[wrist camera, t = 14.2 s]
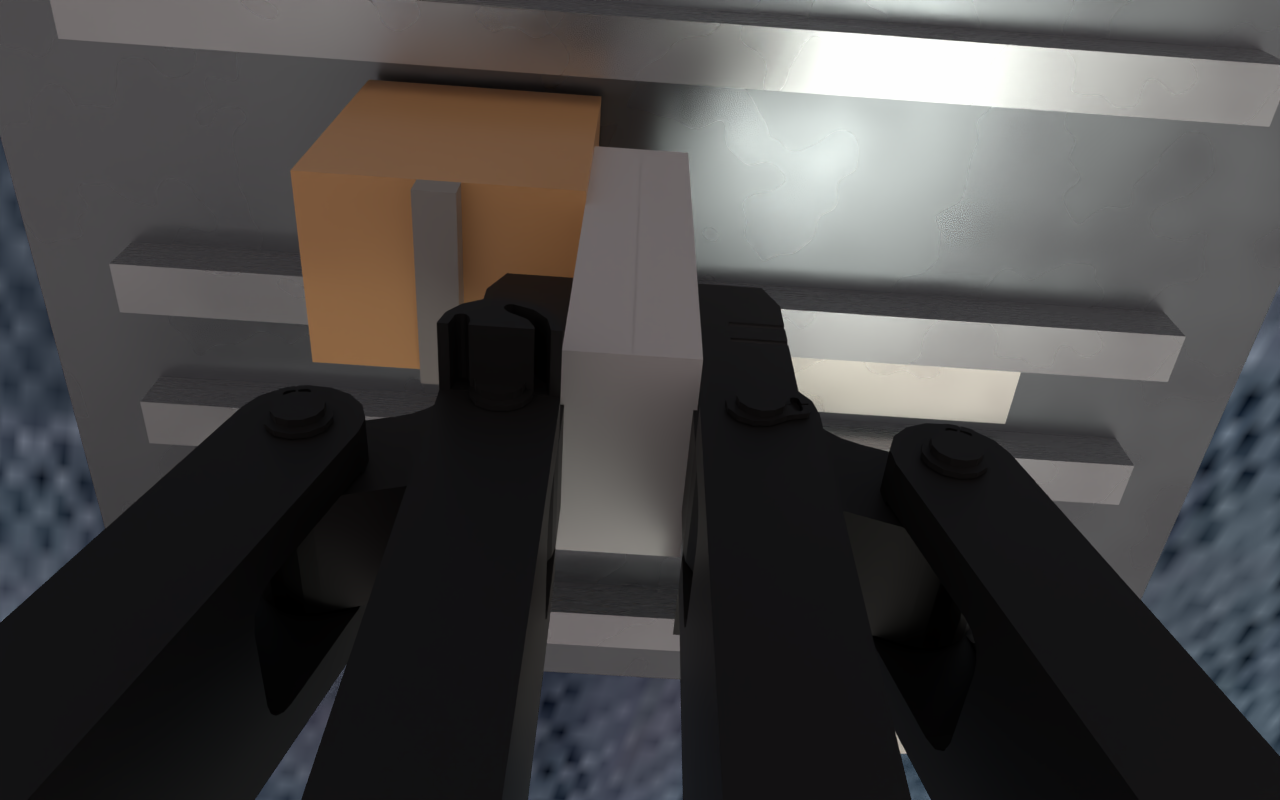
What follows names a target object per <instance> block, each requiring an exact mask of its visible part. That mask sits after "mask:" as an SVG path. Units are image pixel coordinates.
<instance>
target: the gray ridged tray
mask: <svg viewBox="0 0 1280 800" xmlns="http://www.w3.org/2000/svg"><path fill="white" fill-rule="evenodd" d="M368 80H381V81H395V82H409V83H423V84H437V85H451V86H464V87H478V88H492V89H506V90H520V91H534V92H547V93H561V94H575V95H589V96H601V115H600V136H599V146H600V147H613V148H627V149H641V150H655V151H669V152H683V153H688V159H689V173H690V186H691V200H692V214H693V227H694V241H695V255H696V269H697V282H698V284H712V285H726V286H741V287H755V288H762V289H763V290H764V291H765V292H766V293H767V294H768V295H769V296H770V297H771V298H772V299H773V300H774V301H775V302H776V303H777V304H778V305H779V306H780V308H781V313H782V317H783V322H784V329H785V331H786V336H787V340H788V343H787V345H789V350H790V354H791V359H792V363H793V368H794V373H795V377H796V382H797V387H798V391H799V392H800V393H802V394H803V395H804V396H806V397H807V398H809V399H810V400H811V401H812V402H813V403H814V405H815V407H816V408H817V410H818V412H819V414H820V417H821V421H822V426H823V429H825V430H826V431H828V432H830V433H832V434H834V435H836V436H838V437H840V438H843V439H846V440H849V441H852V442H855V443H858V444H861V445H865V446H869V447H873V448H877V449H881V450H884V451H888V452H889V450H890V447H891V444H892V440H893V437H894V436H895V435H896V434H898V433H899V432H900V431H902V430H903V429H905V428H906V427H910V426H915V425H920V424H924V423H933V424H952V425H958V427H961V426H962V427H965V428H969V429H972V430H974V431H976V432H978V433H980V434H982V435H984V436H986V437H988V438H990V439H993V440H995V441H996V442H997V443H998V444H999V445H1001V446H1002V447H1003V448H1004V449H1006V450H1007V451H1008V452H1009V453H1011V455H1012V456H1013V457H1014V458H1015V459H1016V460H1017V461H1018V462H1019V464H1020V465H1021V466H1022V467H1023V468H1024V469H1025V470H1026V471H1027V473H1028V474H1029V475H1030V476H1031V477H1032V478H1033V479H1034V480H1035V482H1036V483H1037V484H1038V485H1039V486H1040V487H1041V488H1042V489H1043V491H1044V492H1045V493H1046V494H1047V495H1048V496H1049V497H1050V498H1051V500H1052V501H1053V502H1054V503H1055V504H1056V505H1057V506H1058V507H1059V509H1060V510H1061V511H1062V512H1063V513H1064V514H1065V515H1066V516H1067V518H1068V519H1069V520H1070V521H1071V522H1072V523H1073V524H1074V525H1075V527H1076V528H1077V529H1078V530H1079V531H1080V532H1081V533H1082V534H1083V536H1084V537H1085V538H1086V539H1087V540H1088V541H1089V542H1090V543H1091V545H1092V546H1093V547H1094V548H1095V549H1096V550H1097V551H1098V552H1099V554H1100V555H1101V556H1102V557H1103V558H1104V559H1105V560H1106V561H1107V563H1108V564H1109V565H1110V566H1111V567H1112V568H1113V569H1114V570H1115V572H1116V573H1117V574H1118V575H1119V576H1120V577H1121V578H1122V579H1123V581H1124V582H1125V583H1126V584H1127V585H1128V586H1129V587H1130V588H1131V590H1132V591H1133V592H1134V593H1135V594H1136V595H1137V596H1138V597H1139V599H1140V600H1141V598H1142V596H1143V593H1144V591H1145V589H1146V587H1147V584H1148V582H1149V580H1150V578H1151V575H1152V573H1153V571H1154V568H1155V566H1156V564H1157V562H1158V559H1159V557H1160V555H1161V553H1162V550H1163V548H1164V546H1165V543H1166V541H1167V539H1168V537H1169V534H1170V532H1171V530H1172V528H1173V525H1174V523H1175V521H1176V518H1177V516H1178V514H1179V512H1180V509H1181V507H1182V505H1183V503H1184V500H1185V498H1186V496H1187V493H1188V491H1189V489H1190V487H1191V484H1192V482H1193V480H1194V478H1195V475H1196V473H1197V471H1198V468H1199V466H1200V464H1201V462H1202V459H1203V457H1204V455H1205V453H1206V450H1207V448H1208V446H1209V443H1210V441H1211V439H1212V437H1213V434H1214V432H1215V430H1216V428H1217V425H1218V423H1219V421H1220V418H1221V416H1222V414H1223V412H1224V409H1225V407H1226V405H1227V402H1228V400H1229V398H1230V396H1231V393H1232V391H1233V389H1234V387H1235V384H1236V382H1237V380H1238V377H1239V375H1240V373H1241V371H1242V368H1243V366H1244V364H1245V362H1246V359H1247V357H1248V355H1249V352H1250V350H1251V348H1252V346H1253V343H1254V341H1255V339H1256V337H1257V334H1258V332H1259V330H1260V327H1261V325H1262V323H1263V321H1264V318H1265V316H1266V314H1267V312H1268V309H1269V307H1270V305H1271V302H1272V300H1273V298H1274V296H1275V293H1276V291H1277V289H1278V287H1279V284H1280V0H0V137H1V140H2V144H3V148H4V152H5V155H6V159H7V163H8V167H9V170H10V174H11V178H12V182H13V185H14V189H15V193H16V197H17V200H18V204H19V208H20V211H21V215H22V219H23V223H24V226H25V230H26V234H27V238H28V241H29V245H30V249H31V253H32V256H33V260H34V264H35V268H36V271H37V275H38V279H39V283H40V286H41V290H42V294H43V298H44V301H45V305H46V309H47V313H48V316H49V320H50V324H51V328H52V331H53V335H54V339H55V343H56V346H57V350H58V354H59V357H60V361H61V365H62V369H63V372H64V376H65V380H66V384H67V387H68V391H69V395H70V399H71V402H72V406H73V410H74V414H75V417H76V421H77V425H78V429H79V432H80V436H81V440H82V444H83V447H84V451H85V455H86V459H87V462H88V466H89V470H90V474H91V477H92V481H93V485H94V489H95V492H96V496H97V500H98V503H99V507H100V511H101V515H102V518H103V522H104V526H105V529H106V528H107V527H108V526H109V525H110V524H111V523H112V522H113V521H115V520H116V519H117V518H118V517H119V516H120V515H121V514H122V513H123V512H125V511H126V510H127V509H128V508H129V507H130V506H131V505H132V504H134V503H135V502H136V501H137V500H138V499H139V498H140V497H141V496H142V495H144V494H145V493H146V492H147V491H148V490H149V489H150V488H151V487H152V486H154V485H155V484H156V483H157V482H158V481H159V480H160V479H161V478H163V477H164V476H165V475H166V474H167V473H168V472H169V471H170V470H171V469H173V468H174V467H175V466H176V465H177V464H178V463H179V462H180V461H182V460H183V459H184V458H185V457H186V456H187V455H188V454H189V453H190V452H192V451H193V450H194V449H195V448H196V447H197V446H198V445H199V444H201V443H202V442H203V441H204V440H205V439H206V438H207V437H208V436H209V435H211V434H212V433H213V432H214V431H215V430H216V429H217V428H218V427H219V426H221V425H222V424H223V423H224V422H225V421H226V420H227V419H228V418H230V417H231V416H232V415H233V414H234V413H235V412H236V411H237V410H238V409H240V408H241V407H242V406H244V405H245V404H247V403H248V402H250V401H251V400H253V399H255V398H256V397H258V396H260V395H263V394H266V393H269V392H272V391H275V390H278V389H281V388H284V387H291V386H295V387H297V386H298V385H312V386H321V387H331V388H334V389H337V390H340V391H343V392H346V393H348V394H351V395H352V396H353V397H354V398H355V399H356V400H358V401H359V402H360V403H361V404H362V405H363V410H364V414H365V420H372V419H380V418H389V417H396V416H401V415H406V414H411V413H415V412H418V411H421V410H423V409H426V408H429V407H431V406H433V405H434V404H435V401H436V398H437V395H438V392H439V384H424V383H421V378H420V369H411V368H396V367H380V366H365V365H350V364H335V363H320V362H313V360H312V352H311V343H310V335H309V326H308V318H307V309H306V300H305V292H304V283H303V275H302V266H301V258H300V249H299V241H298V232H297V223H296V215H295V206H294V198H293V189H292V181H291V172H290V170H291V169H292V168H293V167H294V166H295V165H296V163H297V162H298V161H299V160H300V159H301V158H302V156H303V155H304V154H305V153H306V152H307V151H308V149H309V148H310V147H311V146H312V145H313V144H314V143H315V141H316V140H317V139H318V138H319V137H320V136H321V134H322V133H323V132H324V131H325V130H326V129H327V127H328V126H329V125H330V124H331V123H332V122H333V121H334V119H335V118H336V117H337V116H338V115H339V114H340V112H341V111H342V110H343V109H344V108H345V107H346V105H347V104H348V103H349V102H350V101H351V100H352V99H353V97H354V96H355V95H356V94H357V93H358V92H359V90H360V89H361V88H362V87H363V86H364V85H365V84H366V82H367V81H368ZM682 553H683V544H682V545H681V554H680V557H669V556H653V555H637V554H621V553H605V552H589V551H573V550H557V549H556V551H555V580H554V588H553V596H552V605H551V613H550V621H549V629H548V638H547V646H546V654H545V662H544V671H548V672H565V673H582V674H599V675H616V676H633V677H650V678H667V679H680V635H673V629H674V620H675V612H676V603H677V595H678V586H679V578H680V570H681V561H682Z"/></svg>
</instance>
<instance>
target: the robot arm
mask: <svg viewBox="0 0 1280 800" xmlns="http://www.w3.org/2000/svg"><path fill="white" fill-rule="evenodd" d="M787 343H788V340H787V336H786V331H785V329H784V322H783V317H782V313H781V308H780V306H779V305H778V304H777V303H776V302H775V301H774V300H773V299H772V298H771V297H770V296H769V295H768V294H767V293H766V292H765V291H764V290H763V289H762V288H755V287H741V286H726V285H712V284H698V282H697V269H696V255H695V241H694V227H693V214H692V200H691V186H690V173H689V159H688V153H683V152H669V151H655V150H641V149H627V148H613V147H600V146H595V148H594V154H593V160H592V167H591V173H590V179H589V186H588V192H587V198H586V204H585V209H584V215H583V222H582V228H581V234H580V240H579V247H578V253H577V259H576V265H575V272H574V278H570V277H556V276H541V275H527V274H512V273H507V274H505V275H504V276H503V277H501V278H500V279H499V280H497V281H496V282H495V283H493V284H492V285H491V286H490V287H488V288H487V289H486V292H485V295H484V299H481V300H476V301H472V302H467V303H462V304H460V305H458V306H456V307H454V308H452V309H450V310H448V311H446V312H445V313H444V314H443V315H442V317H441V318H440V319H439V320H438V321H437V347H438V371H439V392H438V395H437V398H436V401H435V404H434V405H433V406H431V407H429V408H426V409H423V410H421V411H418V412H415V413H411V414H406V415H401V416H396V417H389V418H380V419H372V420H365V414H364V410H363V405H362V404H361V403H360V402H359V401H358V400H356V399H355V398H354V397H353V396H352V395H351V394H348V393H346V392H343V391H340V390H337V389H334V388H331V387H321V386H312V385H298V386H297V387H295V386H291V387H284V388H281V389H278V390H275V391H272V392H269V393H266V394H263V395H260V396H258V397H256V398H255V399H253V400H251V401H250V402H248V403H247V404H245V405H244V406H242V407H241V408H240V409H238V410H237V411H236V412H235V413H234V414H233V415H232V416H231V417H230V418H228V419H227V420H226V421H225V422H224V423H223V424H222V425H221V426H219V427H218V428H217V429H216V430H215V431H214V432H213V433H212V434H211V435H209V436H208V437H207V438H206V439H205V440H204V441H203V442H202V443H201V444H199V445H198V446H197V447H196V448H195V449H194V450H193V451H192V452H190V453H189V454H188V455H187V456H186V457H185V458H184V459H183V460H182V461H180V462H179V463H178V464H177V465H176V466H175V467H174V468H173V469H171V470H170V471H169V472H168V473H167V474H166V475H165V476H164V477H163V478H161V479H160V480H159V481H158V482H157V483H156V484H155V485H154V486H152V487H151V488H150V489H149V490H148V491H147V492H146V493H145V494H144V495H142V496H141V497H140V498H139V499H138V500H137V501H136V502H135V503H134V504H132V505H131V506H130V507H129V508H128V509H127V510H126V511H125V512H123V513H122V514H121V515H120V516H119V517H118V518H117V519H116V520H115V521H113V522H112V523H111V524H110V525H109V526H108V527H107V528H106V529H104V530H103V531H102V532H101V533H100V534H99V535H98V536H97V537H96V538H94V539H93V540H92V541H91V542H90V543H89V544H88V545H87V546H85V547H84V548H83V549H82V550H81V551H80V552H79V553H78V554H77V555H75V556H74V557H73V558H72V559H71V560H70V561H69V562H68V563H66V564H65V565H64V566H63V567H62V568H61V569H60V570H59V571H58V572H56V573H55V574H54V575H53V576H52V577H51V578H50V579H49V580H48V581H46V582H45V583H44V584H43V585H42V586H41V587H40V588H39V589H37V590H36V591H35V592H34V593H33V594H32V595H31V596H30V597H29V598H27V599H26V600H25V601H24V602H23V603H22V604H21V605H20V606H18V607H17V608H16V609H15V610H14V611H13V612H12V613H11V614H10V615H8V616H7V617H6V618H5V619H4V620H3V621H2V622H1V623H0V800H255V798H256V797H257V795H258V794H259V792H260V791H261V790H262V788H263V787H264V785H265V784H266V782H267V781H268V779H269V778H270V776H271V775H272V773H273V772H274V770H275V769H276V767H277V766H278V764H279V763H280V762H281V760H282V759H283V757H284V756H285V754H286V753H287V751H288V750H289V748H290V747H291V745H292V744H293V742H294V741H295V739H296V738H297V736H298V735H299V733H300V732H301V731H302V729H303V728H304V726H305V725H306V723H307V722H308V720H309V719H310V717H311V716H312V714H313V713H314V711H315V710H316V708H317V707H318V705H319V704H320V703H321V701H322V700H323V698H324V697H325V695H326V694H327V692H328V691H329V689H330V688H331V686H332V685H333V683H334V682H335V680H336V679H337V677H338V676H339V674H340V673H341V672H342V670H343V669H344V667H345V666H346V664H347V666H346V668H345V671H344V674H343V677H342V680H341V683H340V686H339V689H338V692H337V695H336V698H335V701H334V704H333V707H332V710H331V713H330V716H329V719H328V722H327V725H326V728H325V731H324V734H323V737H322V740H321V743H320V746H319V749H318V752H317V755H316V758H315V761H314V764H313V767H312V770H311V773H310V776H309V779H308V782H307V784H306V787H305V790H304V793H303V796H302V799H301V800H528V794H529V786H530V778H531V769H532V761H533V753H534V745H535V736H536V728H537V720H538V712H539V704H540V695H541V687H542V679H543V671H544V662H545V654H546V646H547V638H548V629H549V621H550V613H551V605H552V596H553V588H554V580H555V551H556V549H557V550H573V551H589V552H605V553H621V554H637V555H653V556H669V557H680V554H681V545H682V544H683V553H682V561H681V570H680V578H679V586H678V595H677V603H676V612H675V620H674V629H673V635H680V682H681V730H682V779H683V800H911V796H910V792H909V788H908V784H907V780H906V775H905V771H904V767H903V763H902V758H901V754H900V750H899V746H898V742H897V737H896V734H897V736H898V738H899V740H900V742H901V744H902V746H903V748H904V749H905V751H906V753H907V755H908V757H909V759H910V761H911V763H912V765H913V766H914V768H915V770H916V772H917V774H918V776H919V778H920V780H921V782H922V783H923V785H924V787H925V789H926V791H927V793H928V795H929V797H930V799H931V800H1280V756H1279V755H1278V754H1277V753H1276V752H1275V750H1274V749H1273V748H1272V747H1271V746H1270V745H1269V744H1268V743H1267V741H1266V740H1265V739H1264V738H1263V737H1262V736H1261V735H1260V734H1259V732H1258V731H1257V730H1256V729H1255V728H1254V727H1253V726H1252V725H1251V723H1250V722H1249V721H1248V720H1247V719H1246V718H1245V717H1244V716H1243V714H1242V713H1241V712H1240V711H1239V710H1238V709H1237V708H1236V707H1235V705H1234V704H1233V703H1232V702H1231V701H1230V700H1229V699H1228V698H1227V696H1226V695H1225V694H1224V693H1223V692H1222V691H1221V690H1220V689H1219V687H1218V686H1217V685H1216V684H1215V683H1214V682H1213V681H1212V680H1211V678H1210V677H1209V676H1208V675H1207V674H1206V673H1205V672H1204V671H1203V669H1202V668H1201V667H1200V666H1199V665H1198V664H1197V663H1196V662H1195V660H1194V659H1193V658H1192V657H1191V656H1190V655H1189V654H1188V653H1187V651H1186V650H1185V649H1184V648H1183V647H1182V646H1181V645H1180V644H1179V642H1178V641H1177V640H1176V639H1175V638H1174V637H1173V636H1172V635H1171V633H1170V632H1169V631H1168V630H1167V629H1166V628H1165V627H1164V626H1163V624H1162V623H1161V622H1160V621H1159V620H1158V619H1157V618H1156V617H1155V615H1154V614H1153V613H1152V612H1151V611H1150V610H1149V609H1148V608H1147V606H1146V605H1145V604H1144V603H1143V602H1142V601H1141V600H1140V599H1139V597H1138V596H1137V595H1136V594H1135V593H1134V592H1133V591H1132V590H1131V588H1130V587H1129V586H1128V585H1127V584H1126V583H1125V582H1124V581H1123V579H1122V578H1121V577H1120V576H1119V575H1118V574H1117V573H1116V572H1115V570H1114V569H1113V568H1112V567H1111V566H1110V565H1109V564H1108V563H1107V561H1106V560H1105V559H1104V558H1103V557H1102V556H1101V555H1100V554H1099V552H1098V551H1097V550H1096V549H1095V548H1094V547H1093V546H1092V545H1091V543H1090V542H1089V541H1088V540H1087V539H1086V538H1085V537H1084V536H1083V534H1082V533H1081V532H1080V531H1079V530H1078V529H1077V528H1076V527H1075V525H1074V524H1073V523H1072V522H1071V521H1070V520H1069V519H1068V518H1067V516H1066V515H1065V514H1064V513H1063V512H1062V511H1061V510H1060V509H1059V507H1058V506H1057V505H1056V504H1055V503H1054V502H1053V501H1052V500H1051V498H1050V497H1049V496H1048V495H1047V494H1046V493H1045V492H1044V491H1043V489H1042V488H1041V487H1040V486H1039V485H1038V484H1037V483H1036V482H1035V480H1034V479H1033V478H1032V477H1031V476H1030V475H1029V474H1028V473H1027V471H1026V470H1025V469H1024V468H1023V467H1022V466H1021V465H1020V464H1019V462H1018V461H1017V460H1016V459H1015V458H1014V457H1013V456H1012V455H1011V453H1009V452H1008V451H1007V450H1006V449H1004V448H1003V447H1002V446H1001V445H999V444H998V443H997V442H996V441H995V440H993V439H990V438H988V437H986V436H984V435H982V434H980V433H978V432H976V431H974V430H972V429H969V428H965V427H962V426H961V427H958V425H952V424H933V423H924V424H920V425H915V426H910V427H906V428H905V429H903V430H902V431H900V432H899V433H898V434H896V435H895V436H894V437H893V440H892V444H891V447H890V450H889V452H888V451H884V450H881V449H877V448H873V447H869V446H865V445H861V444H858V443H855V442H852V441H849V440H846V439H843V438H840V437H838V436H836V435H834V434H832V433H830V432H828V431H826V430H825V429H823V426H822V421H821V417H820V414H819V412H818V410H817V408H816V407H815V405H814V403H813V402H812V401H811V400H810V399H809V398H807V397H806V396H804V395H803V394H802V393H800V392H799V391H798V387H797V382H796V377H795V373H794V368H793V363H792V359H791V354H790V350H789V345H787ZM895 732H896V733H895Z"/></svg>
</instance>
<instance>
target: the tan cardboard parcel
mask: <svg viewBox="0 0 1280 800" xmlns="http://www.w3.org/2000/svg"><path fill="white" fill-rule="evenodd" d="M600 115H601V96H589V95H575V94H561V93H547V92H534V91H520V90H506V89H492V88H478V87H464V86H451V85H437V84H423V83H409V82H395V81H381V80H368V81H367V82H366V84H365V85H364V86H363V87H362V88H361V89H360V90H359V92H358V93H357V94H356V95H355V96H354V97H353V99H352V100H351V101H350V102H349V103H348V104H347V105H346V107H345V108H344V109H343V110H342V111H341V112H340V114H339V115H338V116H337V117H336V118H335V119H334V121H333V122H332V123H331V124H330V125H329V126H328V127H327V129H326V130H325V131H324V132H323V133H322V134H321V136H320V137H319V138H318V139H317V140H316V141H315V143H314V144H313V145H312V146H311V147H310V148H309V149H308V151H307V152H306V153H305V154H304V155H303V156H302V158H301V159H300V160H299V161H298V162H297V163H296V165H295V166H294V167H293V168H292V169H291V170H290V172H291V181H292V189H293V198H294V206H295V215H296V223H297V232H298V241H299V249H300V258H301V266H302V275H303V283H304V292H305V300H306V309H307V318H308V326H309V335H310V343H311V352H312V360H313V362H320V363H335V364H350V365H365V366H380V367H396V368H411V369H420V378H421V383H424V384H439V371H438V347H437V321H438V320H439V319H440V318H441V317H442V315H443V314H444V313H445V312H446V311H448V310H450V309H452V308H454V307H456V306H458V305H460V304H462V303H467V302H472V301H476V300H481V299H484V295H485V292H486V289H487V288H488V287H490V286H491V285H492V284H493V283H495V282H496V281H497V280H499V279H500V278H501V277H503V276H504V275H505V274H507V273H512V274H527V275H541V276H556V277H570V278H574V272H575V265H576V259H577V253H578V247H579V240H580V234H581V228H582V222H583V215H584V209H585V204H586V198H587V192H588V186H589V179H590V173H591V167H592V160H593V154H594V148H595V146H599V136H600Z"/></svg>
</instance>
